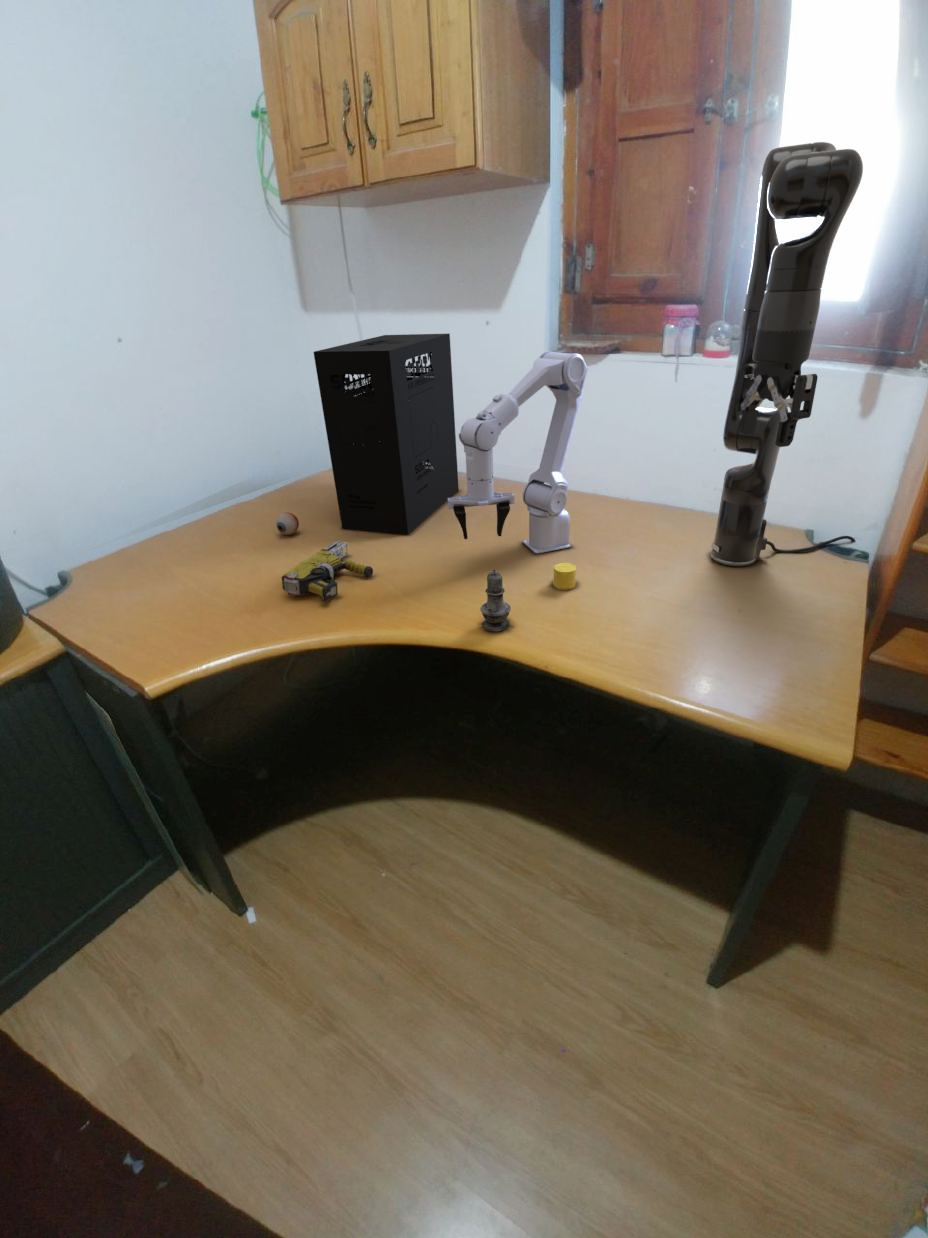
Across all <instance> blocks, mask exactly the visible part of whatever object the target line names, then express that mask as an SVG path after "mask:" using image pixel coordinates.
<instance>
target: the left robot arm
mask: <svg viewBox="0 0 928 1238" xmlns="http://www.w3.org/2000/svg"><path fill="white" fill-rule="evenodd" d="M588 370H589V368H588V366H587V364H586V361H585V358H584V357H583V355H582V354H579V353H565V352H555V351H554V352H553V351H550V350H547V351H544V352H542V353H541V354H540V355H539V357H537V358H536V359H535V360H534V361H533V364H532V367H531V368H530V369H529V371H528V372H527V373H526V374H525V375H524V376H523V377H522V378H521V380H520V381H518V383H517V384H516V385H515V386H514V387H513V388H512V389H511V390H510V392H509V393H508V394H505V393H500V394H499V395H498V394H496V395H494V396H493V397H492V401H491V402H490V403H489V404H487V406H486V407H485V408H484V409H482V410H480V411H479V412H478V413H477V415H476V416H475V418H474V417H471V418H468V419H467V420H466V421H465V422H463V424H462V425H461V428H460V432H459V433H458V439H459V441H460V443H461V444H462V446H463V450H464V451H463V452H464V454H465V466H466V467H465V468H466V486H467V487H466V488H467V494H465V495H460V496H454V497H453V496H452V497H450V498H448V500H447V507H448V510H453V513H454V516H455V517H456V519H457V521H458V523H459V524H460V527H461V530H462V535H463V539H464V540H468V531H467V530H468V529H467V513H466V508H469V507H484V506H485V507H486V506H496V534H497V536H498V537H502V535H503V534H502V533H503V528H504V525H505V522H506V519H507V517H508V515H509V513H510V511H511V506H510V505H515V494H514V492H495V489H494V487H495V485H494V450H493V449H494V448H495V446H496V445H497V444H498V441H499V437H500V435H501V434H502V432H503V431H504V429H506V428H507V426H509V425H510V424H511V423H512V422H513V421H514V420H515V419H516V418H517V417H518V416H519V411H520V407H521V406H522V405H523V404H525V403H526V402H527V401H528V400H529V399H530V398H532V397H533V396H534V395H535V394H536V393H537V392H539V391H540V390H541V389H542V388H544V387H547V389H549V390H550V392H552V394H553V396H554V398H555V404H554V408H553V411H552V415H551V420H550V424H549V428H548V432H547V436H546V439H545V444H544V447H543V451H542V455H541V460H540V463H539V467H538V468H537V470H535V471H533V472H532V473H531V474H530V475H529V477H528V481H527V483H526V484H525V486H524V488H523V491H522V501H523V504H525V505H526V506H527V507H526V508H527V511H529V512H528V513H529V514H528V539H524V540H523V541H522V543H523V544H524V545H525V546H526V547H527V548H528V549H530V550H531V551H532V552H533V553H534V554H537V555H538V554H542V553H548V552H552V551H558V550H564V549H568V548H571V544H570V535H571V534H570V533H571V532H570V531H571V519H570V514H569V512H568V511H567V509H566V506H567V502H568V488H569V484H568V481H567V480H566V479H565V476H563V472H564V471H563V470H564V467H565V464H566V459H567V456H568V452H569V447H570V445H571V441H572V437H573V433H574V429H575V426H576V422H577V418H578V414H579V411H580V407H581V402H582V398H583V389H584V386H585V381H586V379H587V374H588Z"/></svg>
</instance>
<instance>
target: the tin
mask: <svg viewBox="0 0 928 1238" xmlns="http://www.w3.org/2000/svg"><path fill="white" fill-rule="evenodd" d="M576 579H577V567H576V565H575V564H573V563H570V562H560V563H557V564H555V565H553V581H552V582H553V587H554V588H556V589H558V590H563V591H565V590H566V591H567V590H572V589H573V588H575V587H576Z"/></svg>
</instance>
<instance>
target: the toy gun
mask: <svg viewBox="0 0 928 1238" xmlns="http://www.w3.org/2000/svg"><path fill="white" fill-rule="evenodd" d="M345 548H348V543H347V542H346V541H343V540H342V541H341V540H339V539H338V540H335V541H334V542H333V543H331V544H330V545H327V546H326V547H325V548H321V549H320V550H318V551H317V552H316V553H314V554H312V555H311V556H310V557H307V559H305V560H304V561H302V562H300V563H299V564H298V565H296V566H294V567H293V568H291V569H290V570H288V571H287V572H285V573H284V574H282V576H281V585H282V586H281V587H282V590H283V591H284V592H285V593H287V596H292V597H295V596H302V597H303V596H307V595H310V594H315V595H318V596H320V597H322V601H323V602H325V603H327V602H328V601H330V600H332V599H333V598H335V597H337V596H338V594H339V593H338V582H337V581H336V580H334V578H335V577H334V575H336V574H337V573H340V572H342V571H343V570H346V571H349V572H353V573H355V574H358V575H361V576H364V577H366V578H370V577H372V576H373V575H374V569H373V567H372V566H370V565H365V564H361V563H359V562H357V561H352V560H349V559H347V560H345V561H344V562H342V560H343V558H344V557H347V556H348V554H349V553H348V549H346V552H344V549H345Z"/></svg>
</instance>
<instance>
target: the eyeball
mask: <svg viewBox="0 0 928 1238" xmlns="http://www.w3.org/2000/svg"><path fill="white" fill-rule="evenodd" d="M299 525H300V522H299V519H298V517H297V516H296V515H295V514H294V513H292V512H287V511H286V512H282V513H280V514H279V515H278V516H277V517H276V520H275V527H276V529H277V530H278V531H279V532H280V533H281V534H282V535H285V536H286V535H287V536H289V535H293V534H295V533H296V532H297V531H298V529H299Z"/></svg>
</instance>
